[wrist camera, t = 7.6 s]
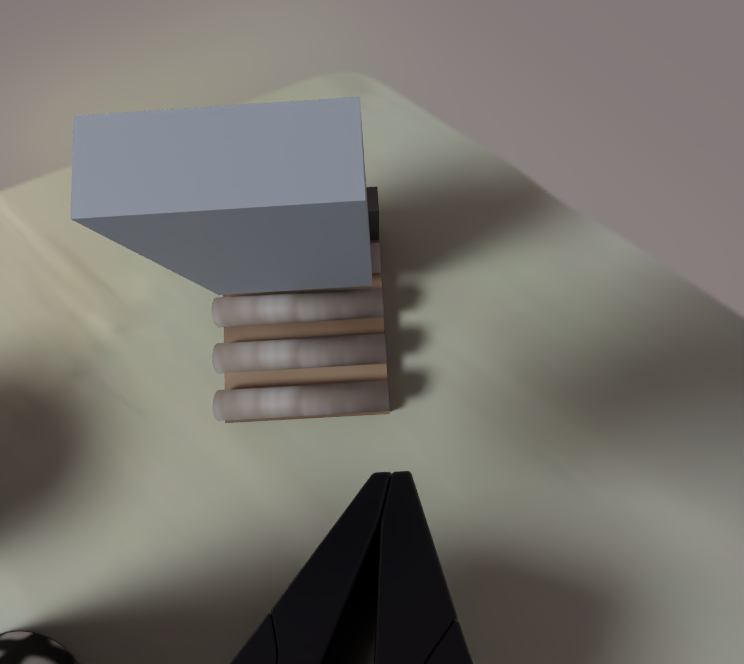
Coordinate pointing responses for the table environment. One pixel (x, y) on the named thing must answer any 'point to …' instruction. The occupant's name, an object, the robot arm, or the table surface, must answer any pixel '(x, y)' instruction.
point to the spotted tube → (31, 649)
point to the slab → (231, 192)
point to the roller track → (304, 349)
